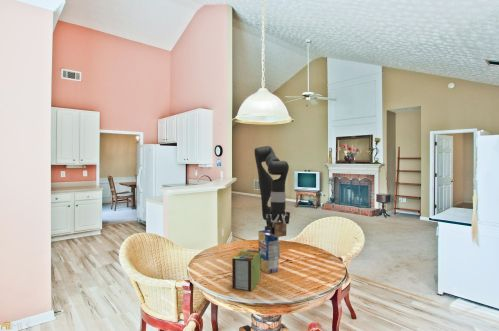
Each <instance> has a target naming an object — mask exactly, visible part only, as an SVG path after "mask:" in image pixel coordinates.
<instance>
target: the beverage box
mask: <svg viewBox="0 0 499 331" xmlns="http://www.w3.org/2000/svg"><path fill="white" fill-rule="evenodd" d="M257 251H260V271H261V270H262V271H263V272H265V273H266V274H267V275H270V274H274V273H279V257H278V237H275V236H272V235H270V230H265V229H264V230H258V247H257Z"/></svg>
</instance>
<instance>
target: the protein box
mask: <svg viewBox="0 0 499 331" xmlns="http://www.w3.org/2000/svg"><path fill="white" fill-rule="evenodd" d="M231 259H232V261H231V262H232V264H231V266H232V269H231V270H232V274H231V277H232V278H231V279H232V280H231V283H232V284H231V285H232V286H231V288H232V289H234V290H241V291H247V292H252V291H253V290H254V288H255V287H256V286H257V284H258V283H259V281H260V280H261V269H260V251H258V250H253V249H246V248H245V249H244V248H242V249H241V250H239V252H238V253H236V254H235V255H234V256H233V257H232V258H231Z"/></svg>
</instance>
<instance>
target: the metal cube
mask: <svg viewBox="0 0 499 331" xmlns="http://www.w3.org/2000/svg"><path fill="white" fill-rule="evenodd" d="M270 235H272V234H271V233H270ZM272 236H275V237H279V238H281V237H286V236H287V224H286V223H282V222H281V221H279V222H276V223H275V226H274V235H272Z"/></svg>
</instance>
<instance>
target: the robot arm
mask: <svg viewBox="0 0 499 331" xmlns="http://www.w3.org/2000/svg"><path fill="white" fill-rule="evenodd" d="M253 151H254V159H255V164H256V170H257V177H258V186H259V192H260V198H261V215H262V219H263V220H265V223H266V226H265V227H264V230H270V233H271V234H272V235H274V226H275V223H276V222H282V223H286V225H289V224H290V217H291V212H289V211H286V199H287V198H286V180H287V176H288V173H289V169H290V168H289V167H290V166H289V163H288V161H285V160H280V158H278V157H277V156H276V153H275V152H274V149H273V148H272V147H271V146H270V145H264V146H258V147H255V148H254V150H253ZM264 162H265V164H266V166H267V170H266V169H265V168H264V166H263V164H262V163H264ZM272 176H280V177H279V178H277V179H273V177H272ZM269 200H270V206H269V204H268V203H269ZM279 238H280V237H278V258H279V257H280V256H281V255H280V254H281V253H280V252H281V247H280V246H281V243H280V242H279Z"/></svg>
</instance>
